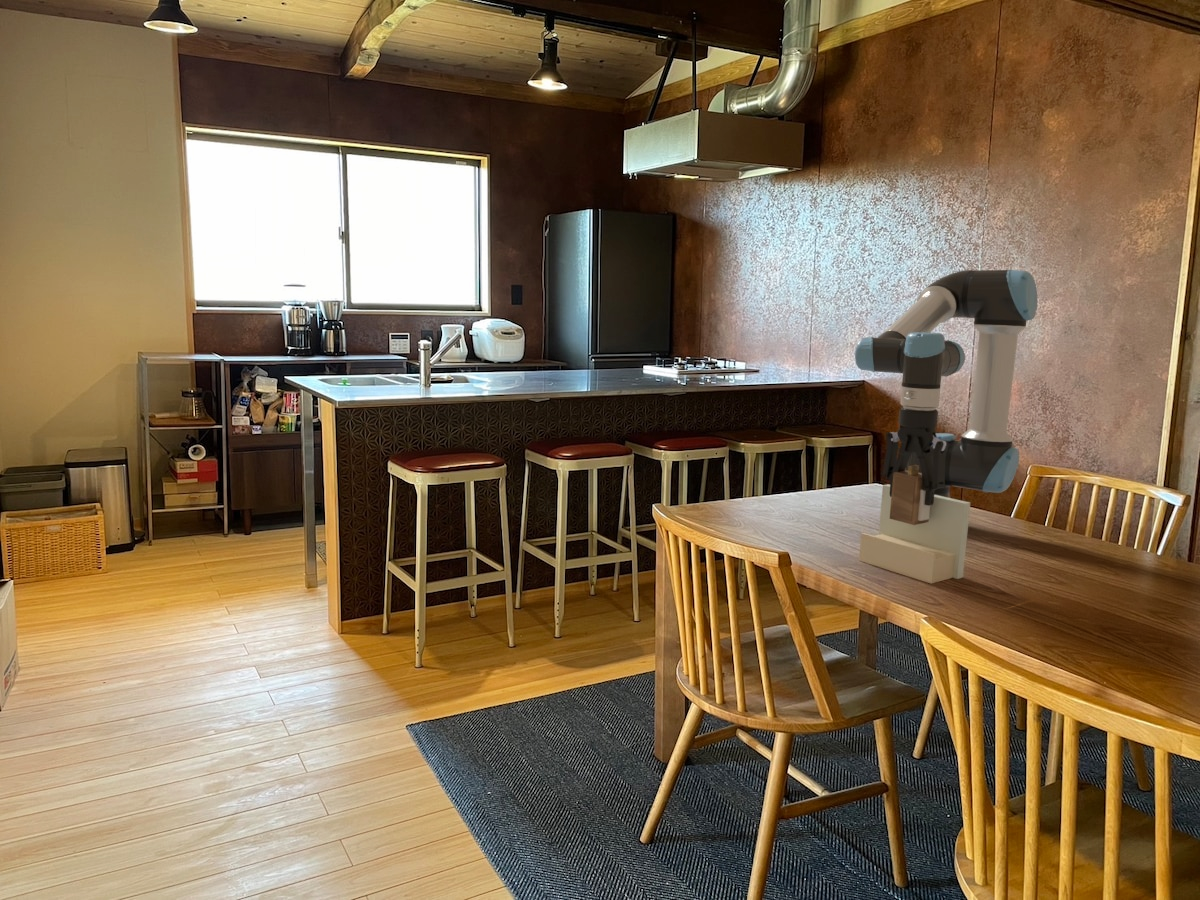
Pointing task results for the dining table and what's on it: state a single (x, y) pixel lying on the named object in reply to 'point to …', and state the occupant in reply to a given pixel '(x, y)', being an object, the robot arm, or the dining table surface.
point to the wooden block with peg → (906, 496)
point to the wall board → (920, 541)
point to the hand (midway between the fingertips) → (909, 515)
